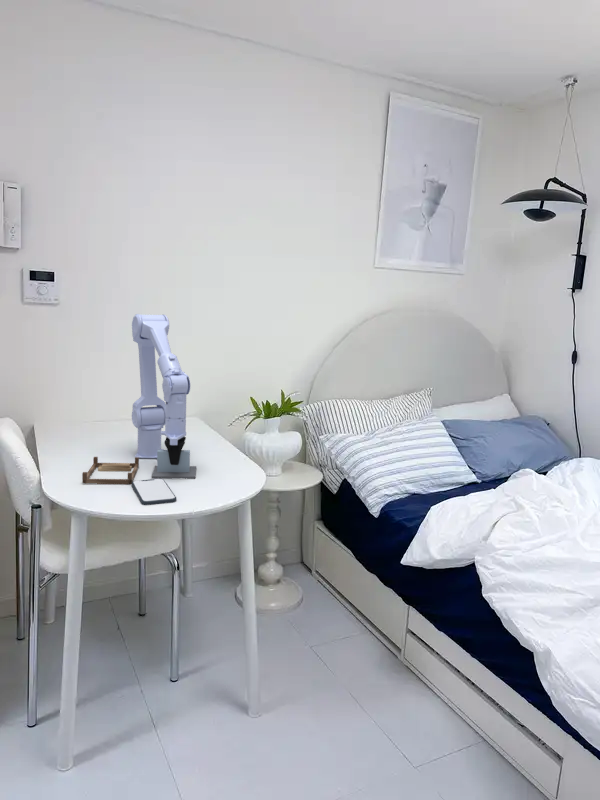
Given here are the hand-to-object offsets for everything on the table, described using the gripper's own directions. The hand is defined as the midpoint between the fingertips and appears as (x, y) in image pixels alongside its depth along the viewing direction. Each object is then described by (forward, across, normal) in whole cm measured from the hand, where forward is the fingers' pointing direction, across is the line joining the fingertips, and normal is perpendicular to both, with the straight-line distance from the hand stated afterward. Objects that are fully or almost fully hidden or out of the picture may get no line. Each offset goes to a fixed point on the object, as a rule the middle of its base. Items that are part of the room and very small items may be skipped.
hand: (174, 463), depth 169 cm
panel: (+2, 0, 0) cm, 2 cm away
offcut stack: (+3, -2, -17) cm, 17 cm away
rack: (+3, +2, -17) cm, 17 cm away
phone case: (+4, +17, -4) cm, 18 cm away
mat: (+3, 0, 0) cm, 3 cm away
